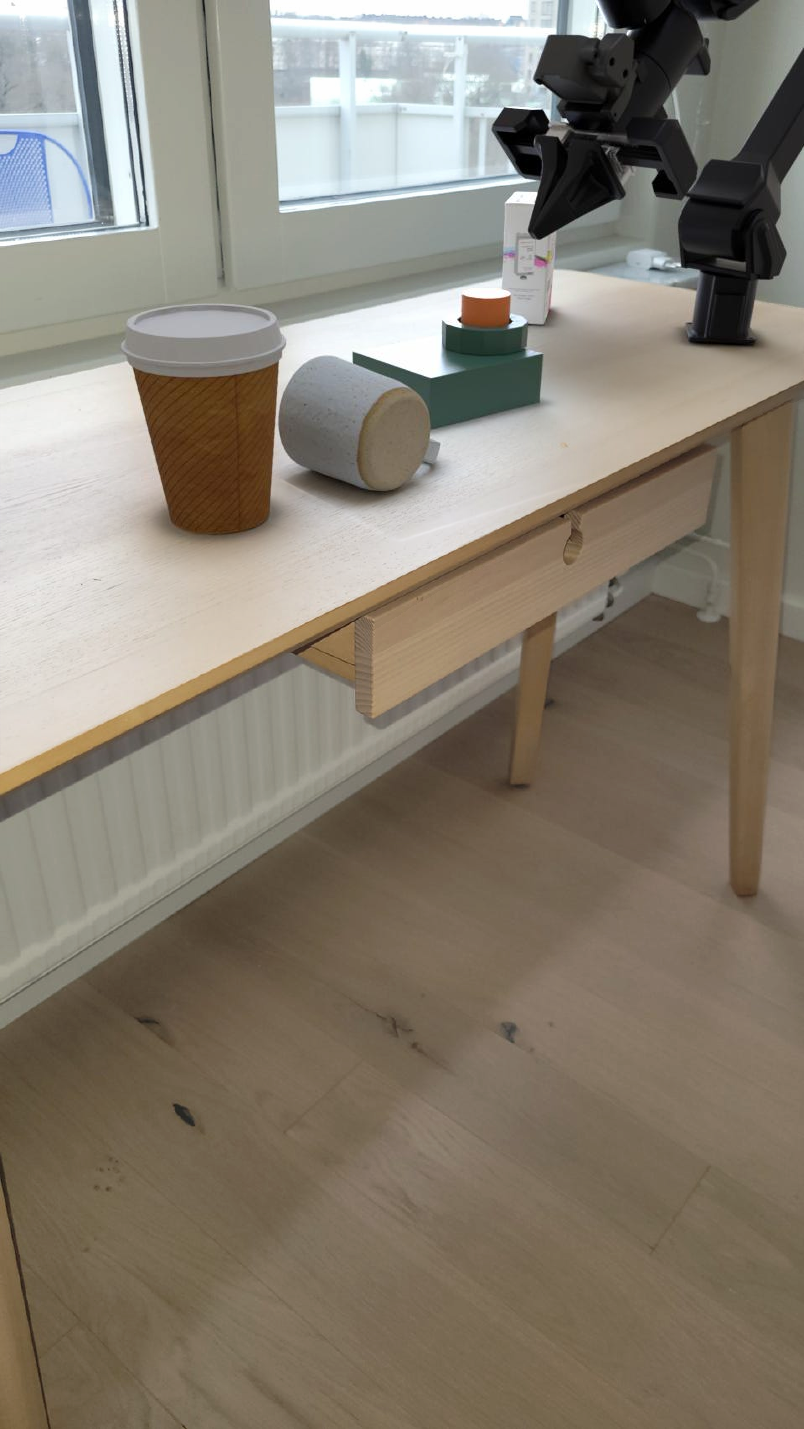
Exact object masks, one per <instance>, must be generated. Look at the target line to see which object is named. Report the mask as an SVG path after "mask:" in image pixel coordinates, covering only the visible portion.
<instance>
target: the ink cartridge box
mask: <svg viewBox="0 0 804 1429" xmlns="http://www.w3.org/2000/svg"><path fill="white" fill-rule="evenodd" d="M537 192H538V191H515V192H513V194H512V195H511V196H510V197H509V198H508V199H507V200H506V201H505V202H504V226H503V227H504V228H503V229H504V230H503V250H502V251H503V252H502V274H501V275H502V276H501V278H502V280H501V290H505V291H508V292H510V293H511V303H510V313H511V314H515V315H519V316H522V317H524V318H525V319H526V320H527V321H528V325H544V324H545V323H546V320H547V317H548V314H549V311H550V308H551V305H552V304H551V303H552V290H553V279H554V267H555V256H556V255H555V254H556V243H557V231H555V232H553V233H552V234H550V235H548V236H546V237H545V238H543V239H541V240H536V239H532V238H531V236H530V235H529V233H528V226H529V222H530V218H531V214H532V211H533V207H534V203H535V200H536V196H537Z"/></svg>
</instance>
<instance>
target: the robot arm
mask: <svg viewBox="0 0 804 1429" xmlns="http://www.w3.org/2000/svg"><path fill="white" fill-rule="evenodd" d="M760 1H761V0H594V2H595V3H596V5H597V7H598V10H599V12H600V14H601V16H602V19H603V20H604V23H605V24H606V25H607V26H608V27H609V28H610V29H614V30H621V29H622V30H623V29H624V30H626V31H627V33H625V32H608V33H606V34H605V35H603V37H602V38H601V39H600V38H599V37H589V36H587V35H584V34H548V35H547V36H546V38H545V43H543V47H542V49H541V52H540V56H539V59H538V61H537V64H536V67H535V70H534V73H533V75H532V80H533V82H534V83H536V85H538V86H544V87H545V88H546V89H547V90H548V91H550V92H551V93H552V94H554V95H555V96H557V97H558V98H559V99H560V100H559V102H558V104H557V105H556V106H555V107H556V110H557V112H558V113H559V115H560V117H561V119H564V120H566V121H567V122H566V121H558V120H549V117H548V115H547V114H546V112H545V111H544V108H534V107H523V106H521V107H520V106H504V107H503V108H502V110H501V111H500V113H499V114H498V116H497V117H496V119H495V120H494V122H493V123H492V125H491V128H490V130H491V132H492V134H493V135H494V137H495V139H496V140H497V142H498V143H499V146H500V147H501V148H502V150H503V152H504V153H505V155H506V157H507V159H508V160H509V161H510V163H511V165H512V166H513V168H514V170H515V171H516V173H517V174H518V175H519V176H521V177H522V178H523V179H524V180H529V181H530V180H531V181H537V182H539V185H538V189H537V191H536V192H537V196H536V200H535V203H534V207H533V211H532V214H531V218H530V222H529V226H528V233H529V235H530V236H531V238H532V239H536V240H541V239H543V238H545V237H546V236H548V235H550V234H552V233H553V232H555V231H556V232H558V231H559V230H560V229H562V228H564V227H565V226H567V225H569V224H571V223H573V222H575V221H576V220H578V219H579V218H582V217H583V216H586V215H587V214H589V213H591V212H593V211H595V210H597V209H599V208H601V207H604V206H605V205H608V204H609V203H611V202H613V201H622V200H623V199H624V198H625V197H626V195H627V192H626V190H625V188H624V186H625V185H626V183H627V182H628V181H629V179H630V177H631V176H633V177H634V176H636V174H637V172H638V170H637V168H644V169H654V170H655V171H656V172H657V174H655V175H656V176H655V177H654V178H653V179H652V181H651V187H652V191H653V194H654V195H655V197H656V198H659V199H660V198H661V199H667V200H672V201H673V200H675V201H681V202H682V201H683V199H684V198H687V200H686V201H685V202H684V204H683V207H682V208H681V210H680V213H679V216H678V221H677V234H678V246H679V257H680V267H681V268H683V269H692V270H697V271H699V272H698V280H697V287H696V294H695V300H694V307H693V314H692V319H691V320H692V321H690V322H685V324H684V330H685V334H686V337H687V339H688V341H689V342H694V343H695V342H696V343H697V342H698V343H720V344H743V345H755V344H756V343H757V337H756V335H755V333H754V332H753V330H752V327H751V324H752V318H753V312H754V306H755V301H756V296H757V289H758V284H759V280H760V281H771V280H774V278H775V277H778V276H780V275H781V271H782V269H783V267H784V264H785V261H786V259H787V255H788V253H787V250H786V246H785V244H784V242H783V240H782V238H781V237H782V236H781V235H780V233H779V230H778V228H777V223H778V221H779V219H780V217H781V214H782V195H781V194H782V184H783V181H784V179H785V178H786V177H787V175H788V173H789V172H790V170H791V168H792V167H793V165H794V164H795V162H796V160H797V158H798V157H799V156H800V154H801V152H802V151H803V149H804V46H803V47H802V49H801V51H800V52H799V54H798V55H797V57H796V59H795V61H794V62H793V64H792V65H791V67H790V68H789V70H788V71H787V73H786V75H785V77H784V78H783V80H782V82H781V83H780V85H779V86H778V88H777V89H776V91H775V93H774V94H773V96H772V98H771V99H770V101H769V103H768V104H767V106H766V107H765V109H764V110H763V112H762V114H761V115H760V117H759V119H758V121H757V122H756V123H755V125H754V128H753V129H752V131H751V132H750V134H749V135H748V136H747V139H746V140H745V142H744V143H743V145H742V146H741V149H740V150H739V152H738V153H737V154H736V155H735V156H733V158H731V159H729V160H728V159H719V158H710V159H709V160H708V161H707V162H706V163H705V164H704V165H703V167H702V169H701V171H700V173H699V175H698V171H699V165H698V161H697V160H696V157H695V155H694V153H693V150H692V148H691V146H690V143H689V142H688V139H687V137H686V134H685V132H684V130H683V128H682V126H681V125H682V124H681V123H680V121H679V119H677V118H669V115H668V113H667V111H666V109H665V106H664V105H665V104H666V102H667V101H668V99H669V98H670V96H671V95H672V93H673V91H674V90H675V89H676V87H677V86H678V84H679V83H680V81H681V80H682V79H683V77H684V76H698V77H699V76H701V77H702V76H703V77H706V76H708V75H709V74H710V72H711V65H712V58H711V56H710V52H709V47H710V39H709V37H704V35H703V32H702V29H701V27H700V25H699V22H729V21H735V20H736V19H738V18H740V17H741V16H742V15H743V14H745V13H746V12H747V11H749V10H750V9H751V8H752V7H754V6H755V5H756V4H757V3H759V2H760Z"/></svg>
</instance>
